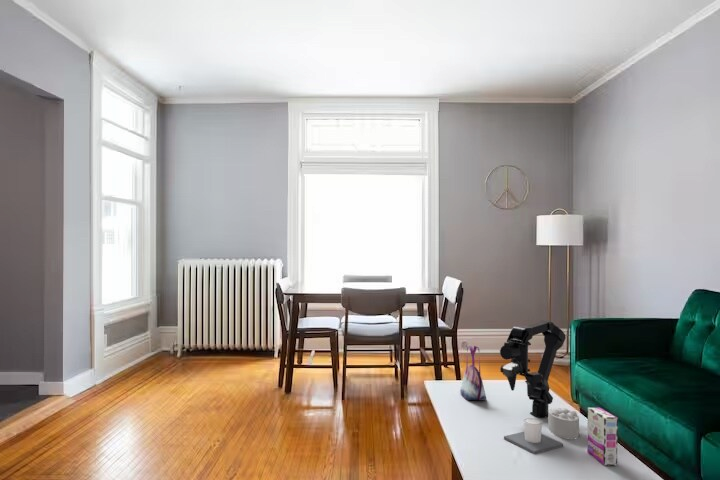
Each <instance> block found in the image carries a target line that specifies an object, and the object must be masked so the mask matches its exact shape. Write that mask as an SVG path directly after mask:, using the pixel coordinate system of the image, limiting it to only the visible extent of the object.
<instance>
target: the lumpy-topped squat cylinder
mask: <svg viewBox="0 0 720 480" xmlns="http://www.w3.org/2000/svg"><path fill="white" fill-rule="evenodd" d="M547 426H548V427H547V429H548V431H549V432H550V433H552V435H554V436H556V437H559V438H562V439H567V440H576V439H578V438H579V437H580V417H579V415H578V413H577V412H576V411H575V410H569V409H568V408H566V407H561V408H560V407H555V408H551V409H548V417H547ZM578 436H579V437H578ZM575 438H576V439H575Z"/></svg>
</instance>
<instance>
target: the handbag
mask: <svg viewBox="0 0 720 480" xmlns="http://www.w3.org/2000/svg"><path fill="white" fill-rule="evenodd" d="M468 350H469V351H470V355H471V359H472V360H471V361H472V362H471V363H472V364H469V365H468V363H469V362H468V360H469V359H468V355H469V354H468ZM477 350H478V352H480V348H479V347H478V346H477V345H474V346H472V345H469V346H468V347H467V349H466V353H467V354H466V355H467V356H466V357H467V358H466V368H465V370H464V373H463V376H462V381H461V386H460V391H459V392H460V395H461V396H462V397H463V398H464V399H465V400H466V401H473V400H479V401H482V400H483V401H486V400H487V395H486V391H485V387H484V383H483V378H482V376H481V364H480V363H481V360H480V357H479V358H478V361H479V362H478V368H477V367H476V366H475V365H476V364H475V363H476V362H475V354H476V351H477Z"/></svg>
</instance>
